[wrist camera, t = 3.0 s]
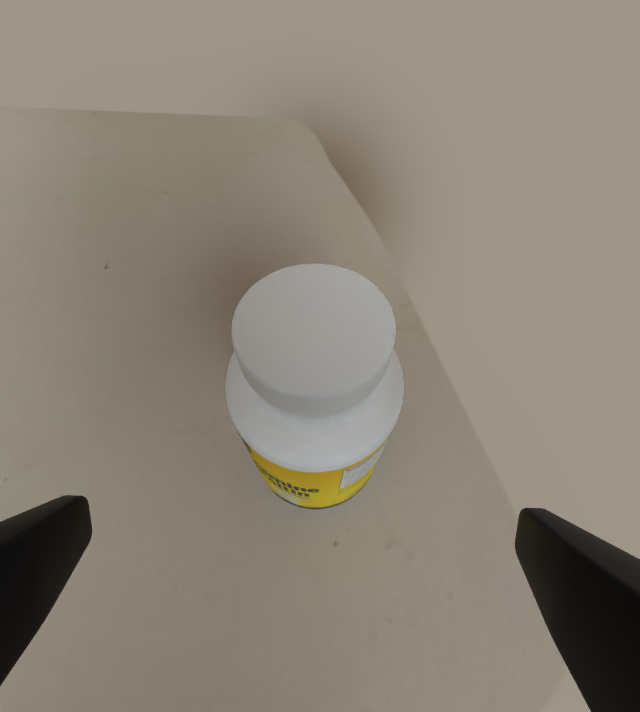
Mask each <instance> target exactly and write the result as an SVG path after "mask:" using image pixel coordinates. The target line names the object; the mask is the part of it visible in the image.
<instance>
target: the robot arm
mask: <svg viewBox="0 0 640 712" xmlns="http://www.w3.org/2000/svg"><path fill="white" fill-rule="evenodd" d="M91 536H92V525H91V518H90V511H89V504H88V500H87V499H86V498H85V497H84V496H72V495H66V496H61V497H59V498H57V499H54V500H52V501H49V502H47V503H45V504H42V505H40V506H37V507H35V508H32V509H30V510H28V511H25V512H23V513H20V514H18V515H16V516H13V517H11V518H8V519H6V520H4V521H1V522H0V686H1V684H2V683H3V681H4V680H5V678H6V677H7V675H8V674H9V672H10V671H11V670H12V668H13V667H14V665H15V664H16V662H17V661H18V659H19V658H20V656H21V655H22V653H23V652H24V650H25V649H26V648H27V646H28V645H29V643H30V642H31V640H32V639H33V637H34V636H35V634H36V633H37V631H38V630H39V628H40V627H41V625H42V624H43V622H44V621H45V619H46V617H47V616H48V614H49V612H50V611H51V609H52V607H53V606H54V604H55V602H56V600H57V599H58V597H59V595H60V593H61V592H62V590H63V588H64V586H65V585H66V583H67V581H68V579H69V578H70V576H71V574H72V572H73V571H74V569H75V567H76V565H77V563H78V562H79V560H80V558H81V556H82V555H83V553H84V551H85V549H86V548H87V546H88V544H89V542H90V539H91ZM515 550H516V554H517V557H518V559H519V562H520V564H521V566H522V569H523V571H524V573H525V576H526V578H527V580H528V583H529V585H530V588H531V590H532V592H533V595H534V597H535V599H536V602H537V604H538V607H539V609H540V611H541V614H542V616H543V618H544V621H545V623H546V625H547V627H548V630H549V632H550V634H551V636H552V638H553V640H554V642H555V644H556V646H557V648H558V650H559V652H560V654H561V656H562V658H563V660H564V661H565V663H566V665H567V667H568V669H569V671H570V673H571V675H572V676H573V678H574V680H575V682H576V684H577V686H578V688H579V690H580V691H581V693H582V695H583V697H584V699H585V701H586V703H587V705H588V707H589V709H590V710H591V712H640V559H638V558H636V557H634V556H632V555H630V554H629V553H627V552H625V551H623V550H621V549H619V548H617V547H615V546H613V545H612V544H610V543H607V542H606V541H604V540H602V539H600V538H598V537H596V536H594V535H593V534H591V533H589V532H587V531H585V530H583V529H581V528H579V527H578V526H576V525H574V524H572V523H570V522H568V521H566V520H564V519H562V518H561V517H559V516H557V515H555V514H553V513H551V512H549V511H547V510H545V509H542V508H524V509H522V510H521V512H520V514H519V519H518V526H517V532H516V538H515Z"/></svg>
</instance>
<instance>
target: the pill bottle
mask: <svg viewBox="0 0 640 712" xmlns="http://www.w3.org/2000/svg"><path fill="white" fill-rule="evenodd" d="M231 335H232V343H233V347H234V353H233V355H232V357H231V359H230V362H229V365H228V369H227V373H226V380H225V396H226V402H227V407H228V411H229V414H230V416H231V419H232V421H233V423H234V425H235V427H236V429H237V431H238V433H239V435H240V437H241V438H242V440H243V442H244V444H245V446H246V447H247V449H248V451H249V453H250V455H251V457H252V459H253V460H254V462H255V464H256V466H257V468H258V470H259V472H260V474H261V476H262V478H263V479H264V481H265V482H266V484H267V485H268V486H269V488H270V489H271V490H272V491H273V492H274V493H275V494H276V495H277V496H279V497H280V498H281V499H283V500H285V501H286V502H288V503H290V504H293V505H295V506H298V507H301V508H306V509H326V508H331V507H334V506H337V505H339V504H342V503H344V502H346V501H347V500H349V499H350V498H352V497H353V496H355V495H356V494H357V493H358V492H359V491H360V490H361V489H362V488H363V486H364V485H365V484H366V482H367V481H368V479H369V478H370V476H371V474H372V472H373V470H374V468H375V466H376V463H377V461H378V459H379V457H380V455H381V453H382V451H383V449H384V447H385V445H386V443H387V441H388V439H389V437H390V435H391V433H392V431H393V429H394V427H395V424H396V422H397V420H398V417H399V414H400V411H401V408H402V403H403V397H404V378H403V372H402V368H401V365H400V362H399V359H398V356H397V354H396V352H395V350H394V349H393V347H394V342H395V338H396V324H395V318H394V314H393V311H392V308H391V306H390V304H389V302H388V300H387V299H386V297H385V296H384V295H383V293H382V292H381V291H380V289H379V288H377V287H376V286H375V285H374V284H373V283H372V282H371V281H369V280H368V279H367V278H365V277H363V276H362V275H360V274H358V273H356V272H354V271H352V270H349V269H346V268H343V267H339V266H335V265H330V264H317V263H316V264H302V265H295V266H290V267H286V268H282V269H279V270H277V271H275V272H273V273H271V274H269V275H267V276H265V277H264V278H262V279H261V280H259V281H258V282H256V283H255V284H254V285H253V286H252V287H251V288H250V289H249V290H248V291H247V292H246V293H245V294H244V296H243V297H242V299H241V300H240V302H239V303H238V306H237V308H236V310H235V313H234V316H233V320H232V327H231Z"/></svg>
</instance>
